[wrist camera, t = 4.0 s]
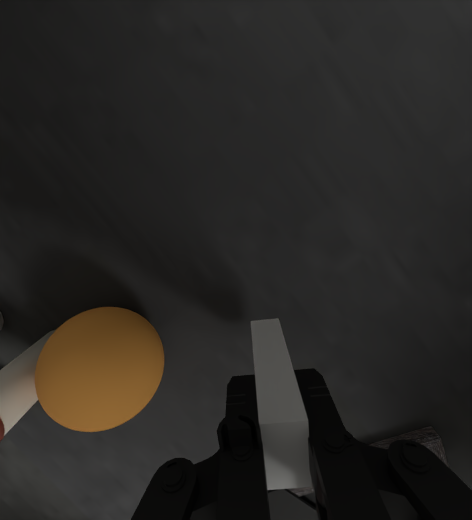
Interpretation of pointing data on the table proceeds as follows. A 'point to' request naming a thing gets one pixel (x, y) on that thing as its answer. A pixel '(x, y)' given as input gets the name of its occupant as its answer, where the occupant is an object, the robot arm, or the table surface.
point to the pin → (1, 321)
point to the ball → (99, 369)
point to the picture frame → (303, 499)
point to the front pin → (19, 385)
